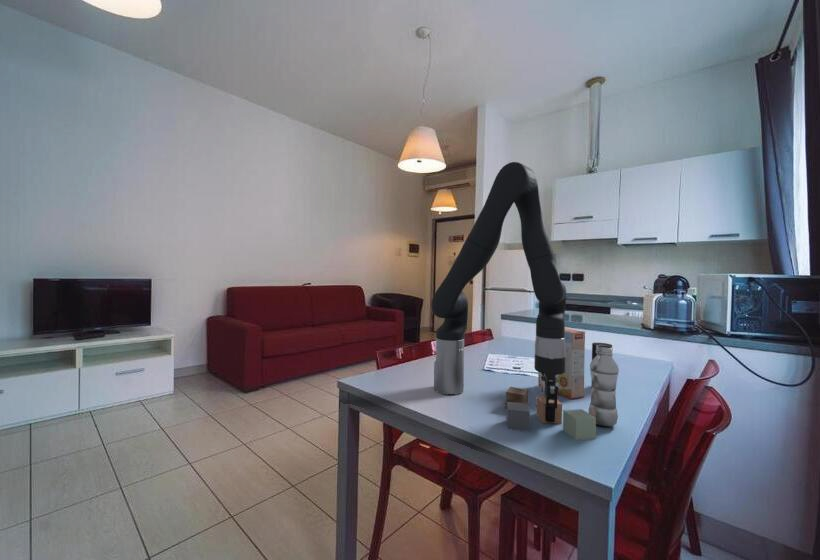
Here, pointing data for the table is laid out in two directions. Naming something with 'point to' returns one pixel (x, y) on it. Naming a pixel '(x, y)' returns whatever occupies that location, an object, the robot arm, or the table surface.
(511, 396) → the walnut cube
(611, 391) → the plastic bottle
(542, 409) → the terracotta cube
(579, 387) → the cracker box
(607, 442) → the table surface
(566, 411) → the sage cube
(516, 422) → the charcoal cube
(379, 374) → the table surface
